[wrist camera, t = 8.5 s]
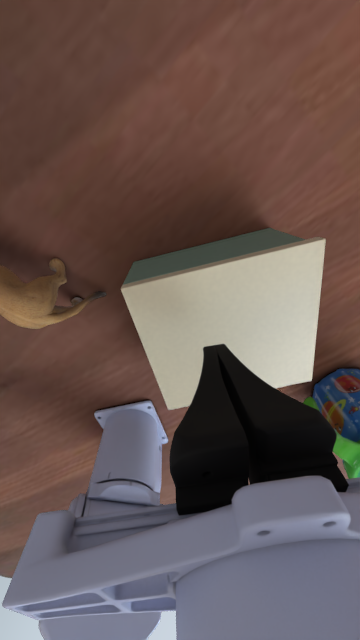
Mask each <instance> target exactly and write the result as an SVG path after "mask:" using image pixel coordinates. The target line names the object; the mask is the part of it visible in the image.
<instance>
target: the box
mask: <svg viewBox="0 0 360 640" xmlns="http://www.w3.org/2000/svg"><path fill="white" fill-rule="evenodd" d="M303 240H305V239H302V238H299V237H296V236H293V235H290V234H287V233H284V232H280V231H277V230H274V229H272V228H267V229H263V230H259V231H255V232H251V233H247V234H243V235H239V236H235V237H231V238H227V239H223V240H219V241H215V242H211V243H207V244H203V245H199V246H195V247H191V248H187V249H183V250H179V251H175V252H171V253H167V254H163V255H160V256H156V257H152V258H148V259H144V260H140V261H136V262H133V264H132V267H131V269H130V271H129V273H128V275H127V277H126V279H125V281H124V283H123V285H124V284H128V283H132V282H136V281H140V280H144V279H148V278H152V277H156V276H160V275H164V274H169V273H173V272H177V271H181V270H185V269H189V268H193V267H197V266H201V265H205V264H209V263H213V262H217V261H221V260H225V259H230V258H234V257H238V256H242V255H246V254H250V253H254V252H258V251H262V250H266V249H270V248H274V247H278V246H282V245H286V244H291V243H295V242H299V241H303Z"/></svg>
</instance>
